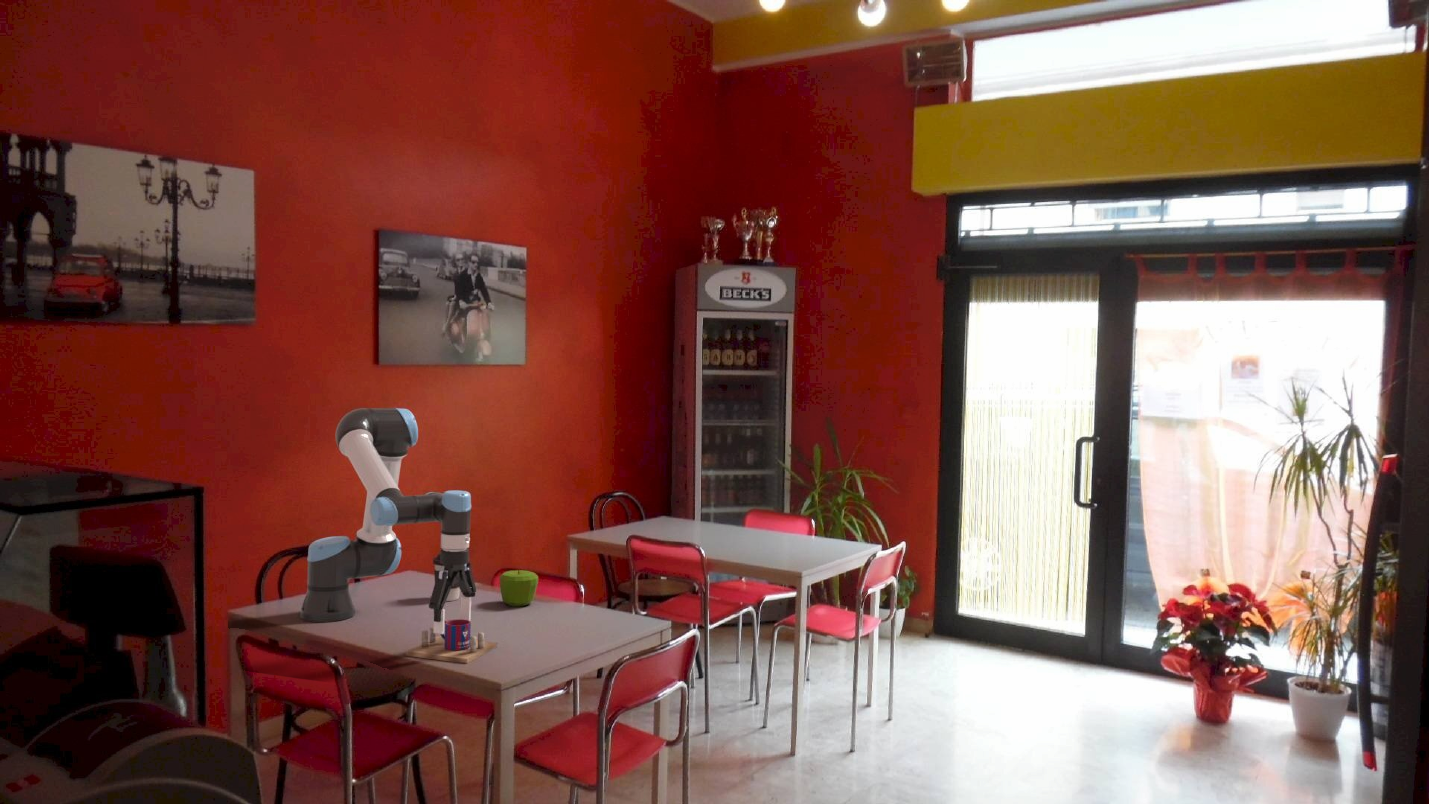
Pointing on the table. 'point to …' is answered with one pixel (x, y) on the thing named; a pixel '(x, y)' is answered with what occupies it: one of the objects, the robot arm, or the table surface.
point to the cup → (457, 634)
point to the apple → (518, 587)
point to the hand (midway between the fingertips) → (452, 626)
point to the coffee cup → (440, 567)
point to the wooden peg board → (438, 652)
